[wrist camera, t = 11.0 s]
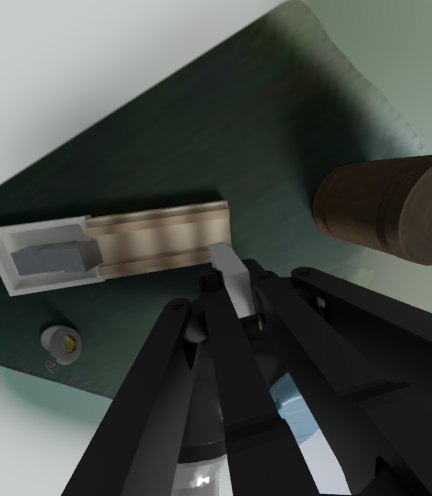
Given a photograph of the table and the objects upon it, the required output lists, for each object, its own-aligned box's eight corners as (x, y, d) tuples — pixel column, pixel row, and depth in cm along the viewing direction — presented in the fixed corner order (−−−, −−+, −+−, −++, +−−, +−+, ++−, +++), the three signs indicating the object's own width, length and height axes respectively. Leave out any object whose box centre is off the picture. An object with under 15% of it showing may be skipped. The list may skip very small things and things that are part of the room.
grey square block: (76, 240, 37) (64, 246, 33) (83, 260, 38) (72, 269, 35) (52, 243, 37) (37, 250, 33) (60, 264, 38) (46, 272, 34)
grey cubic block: (37, 249, 33) (10, 253, 33) (46, 272, 34) (20, 276, 34) (52, 243, 37) (28, 246, 36) (60, 263, 38) (36, 267, 38)
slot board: (224, 200, 39) (228, 201, 36) (229, 254, 43) (233, 260, 39) (93, 217, 37) (82, 220, 33) (109, 273, 40) (102, 281, 36)
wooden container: (367, 235, 46) (516, 276, 26) (306, 236, 44) (415, 281, 23) (384, 165, 42) (579, 145, 21) (318, 162, 40) (463, 136, 19)
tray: (90, 214, 37) (84, 216, 34) (108, 275, 40) (104, 281, 38) (-8, 227, 35) (-21, 230, 33) (20, 289, 39) (10, 296, 36)
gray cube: (96, 240, 35) (78, 248, 31) (103, 262, 36) (85, 272, 33) (77, 241, 36) (56, 249, 32) (84, 263, 37) (64, 272, 33)
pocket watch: (38, 342, 42) (-4, 387, 33) (56, 311, 41) (17, 349, 32) (78, 357, 45) (49, 403, 35) (96, 327, 43) (71, 367, 34)
